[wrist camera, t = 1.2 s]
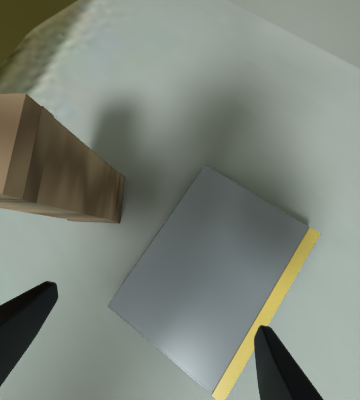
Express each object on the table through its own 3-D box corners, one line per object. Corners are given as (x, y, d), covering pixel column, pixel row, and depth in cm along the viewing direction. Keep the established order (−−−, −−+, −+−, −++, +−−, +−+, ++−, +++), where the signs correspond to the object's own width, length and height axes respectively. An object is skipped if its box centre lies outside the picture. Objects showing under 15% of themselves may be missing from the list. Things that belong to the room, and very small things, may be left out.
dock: (219, 385, 17) (222, 404, 15) (116, 299, 20) (106, 306, 17) (307, 234, 19) (320, 233, 17) (204, 171, 21) (205, 164, 19)
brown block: (119, 223, 21) (4, 196, 8) (74, 221, 22) (-101, 193, 9) (124, 177, 22) (28, 91, 9) (81, 176, 23) (-67, 93, 10)
